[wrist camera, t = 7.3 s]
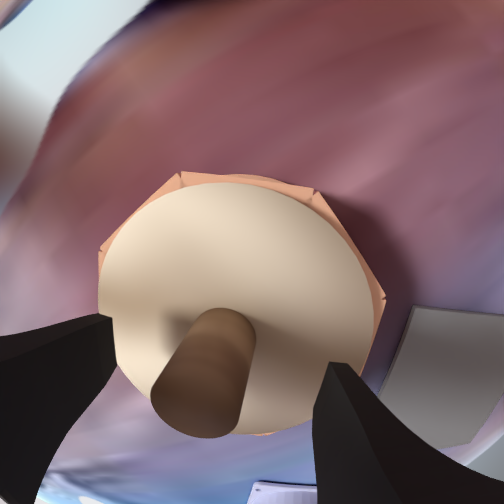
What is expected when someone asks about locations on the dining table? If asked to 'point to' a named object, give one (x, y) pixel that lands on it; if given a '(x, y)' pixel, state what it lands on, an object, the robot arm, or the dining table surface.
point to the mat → (446, 374)
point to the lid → (233, 307)
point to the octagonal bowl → (295, 192)
